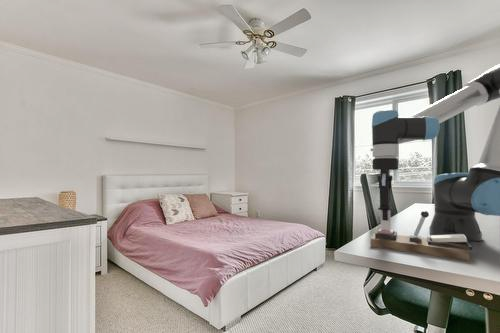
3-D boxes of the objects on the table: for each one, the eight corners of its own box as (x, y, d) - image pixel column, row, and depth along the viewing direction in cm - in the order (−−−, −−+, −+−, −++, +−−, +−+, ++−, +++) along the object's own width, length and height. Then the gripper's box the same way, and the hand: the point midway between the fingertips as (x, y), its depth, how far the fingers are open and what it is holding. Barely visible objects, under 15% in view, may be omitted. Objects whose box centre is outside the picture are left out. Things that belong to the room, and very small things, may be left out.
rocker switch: (464, 238, 73) (463, 233, 73) (467, 241, 70) (466, 236, 70) (431, 239, 77) (430, 234, 77) (432, 242, 74) (431, 237, 74)
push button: (393, 236, 83) (393, 229, 83) (392, 238, 79) (392, 232, 79) (380, 234, 85) (379, 228, 85) (378, 237, 82) (378, 230, 82)
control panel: (467, 251, 75) (466, 237, 75) (473, 261, 67) (473, 246, 67) (374, 239, 88) (374, 227, 89) (370, 246, 80) (370, 233, 80)
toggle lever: (418, 236, 78) (429, 212, 77) (419, 237, 76) (430, 213, 75) (411, 233, 79) (422, 209, 78) (411, 234, 77) (422, 210, 76)
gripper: (374, 159, 90) (375, 224, 90) (369, 157, 79) (370, 232, 79) (399, 158, 86) (399, 227, 86) (397, 156, 75) (397, 235, 75)
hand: (385, 229), depth 82 cm, fingers closed
